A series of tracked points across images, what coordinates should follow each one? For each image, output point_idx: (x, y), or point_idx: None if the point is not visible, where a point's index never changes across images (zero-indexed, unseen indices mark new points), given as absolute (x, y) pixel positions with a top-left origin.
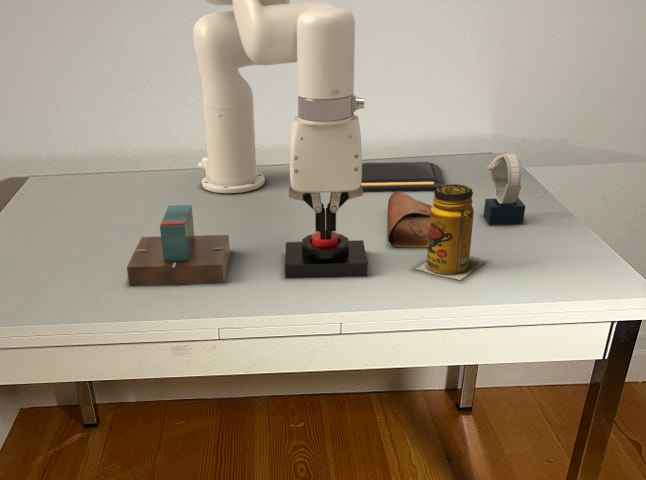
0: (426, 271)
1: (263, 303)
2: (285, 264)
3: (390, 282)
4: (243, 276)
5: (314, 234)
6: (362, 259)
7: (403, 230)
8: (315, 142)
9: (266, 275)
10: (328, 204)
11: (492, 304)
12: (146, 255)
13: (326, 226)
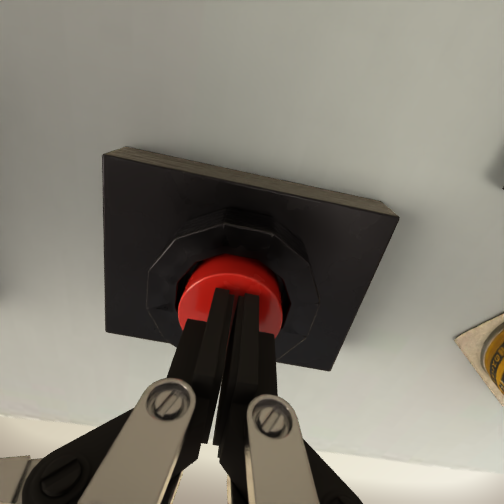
0: (469, 356)
1: (79, 390)
2: (106, 330)
3: (361, 374)
4: (7, 266)
5: (189, 301)
6: (326, 351)
7: None
8: None
9: (71, 275)
10: (231, 441)
11: (481, 470)
12: None
13: (220, 390)
